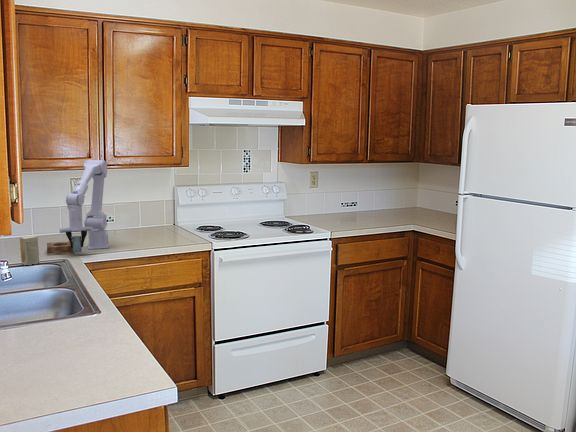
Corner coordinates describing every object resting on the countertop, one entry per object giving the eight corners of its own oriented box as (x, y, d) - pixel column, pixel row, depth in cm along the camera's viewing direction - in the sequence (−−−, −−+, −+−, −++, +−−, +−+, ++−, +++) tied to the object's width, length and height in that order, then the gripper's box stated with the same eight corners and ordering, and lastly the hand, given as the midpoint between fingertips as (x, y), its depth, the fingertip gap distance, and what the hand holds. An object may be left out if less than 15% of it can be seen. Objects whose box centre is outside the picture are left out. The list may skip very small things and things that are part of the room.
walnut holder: (73, 248, 284) (73, 241, 284) (74, 253, 273) (74, 245, 273) (47, 250, 280) (46, 242, 279) (47, 255, 269) (47, 247, 268)
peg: (81, 250, 272) (80, 235, 271) (81, 251, 269) (81, 237, 268) (72, 250, 271) (71, 236, 270) (72, 252, 267) (72, 237, 266)
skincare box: (35, 262, 254) (33, 235, 252) (39, 263, 251) (38, 236, 250) (20, 264, 249) (19, 237, 248) (25, 266, 247) (24, 238, 245)
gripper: (59, 220, 261) (60, 249, 263) (92, 219, 267) (93, 247, 269) (59, 218, 268) (60, 247, 270) (91, 217, 273) (92, 244, 275)
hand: (77, 247), depth 270 cm, fingers closed on peg, 4 cm apart
